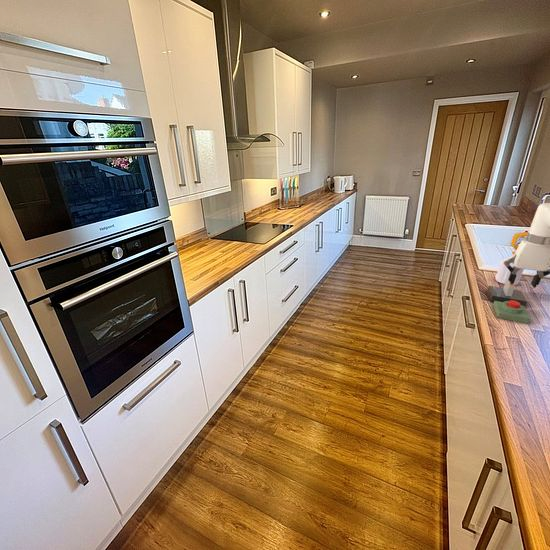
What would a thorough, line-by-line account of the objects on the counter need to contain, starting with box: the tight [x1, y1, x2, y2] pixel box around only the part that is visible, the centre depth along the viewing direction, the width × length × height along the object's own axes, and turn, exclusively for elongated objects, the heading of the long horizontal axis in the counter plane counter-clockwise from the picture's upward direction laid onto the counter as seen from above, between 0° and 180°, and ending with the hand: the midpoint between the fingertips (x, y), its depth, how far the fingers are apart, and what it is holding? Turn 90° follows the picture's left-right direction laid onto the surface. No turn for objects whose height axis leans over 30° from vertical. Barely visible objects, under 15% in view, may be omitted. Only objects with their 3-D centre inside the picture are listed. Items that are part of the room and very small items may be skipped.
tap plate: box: [486, 285, 528, 308], centre depth 125 cm, size 12×10×3 cm
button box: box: [492, 301, 532, 324], centre depth 115 cm, size 10×10×4 cm
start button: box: [508, 300, 520, 308], centre depth 114 cm, size 4×4×2 cm
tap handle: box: [502, 279, 516, 296], centre depth 123 cm, size 6×2×5 cm, turn 154°
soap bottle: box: [494, 231, 529, 286], centre depth 135 cm, size 9×9×25 cm
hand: (522, 283), depth 110 cm, fingers open, 6 cm apart
